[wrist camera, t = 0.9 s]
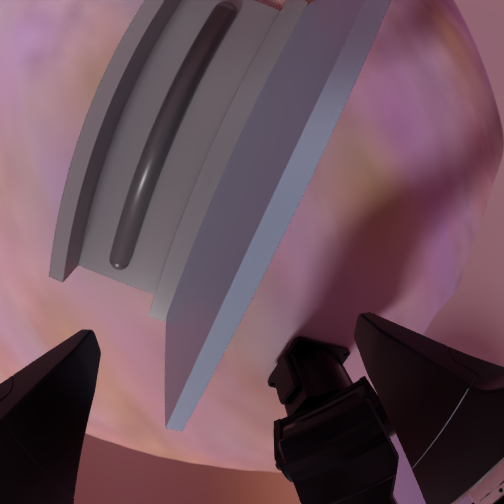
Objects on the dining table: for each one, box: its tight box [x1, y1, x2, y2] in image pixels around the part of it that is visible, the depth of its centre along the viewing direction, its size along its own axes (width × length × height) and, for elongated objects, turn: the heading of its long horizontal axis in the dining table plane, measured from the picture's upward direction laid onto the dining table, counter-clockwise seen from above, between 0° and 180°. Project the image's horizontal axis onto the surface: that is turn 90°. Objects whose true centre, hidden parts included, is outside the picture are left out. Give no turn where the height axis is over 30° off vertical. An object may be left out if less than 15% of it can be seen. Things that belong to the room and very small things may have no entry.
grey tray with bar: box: [49, 0, 308, 322], centre depth 17 cm, size 9×23×4 cm, turn 155°
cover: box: [165, 0, 391, 431], centre depth 12 cm, size 9×22×1 cm
